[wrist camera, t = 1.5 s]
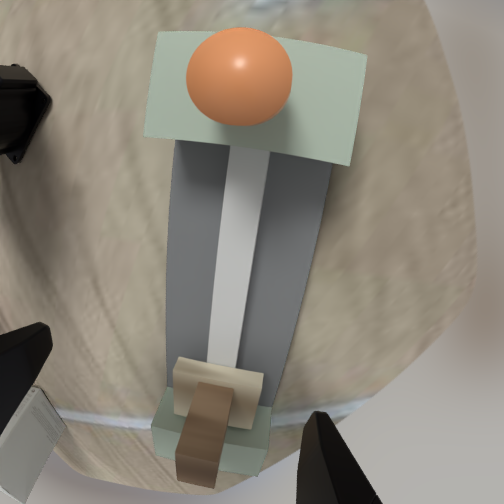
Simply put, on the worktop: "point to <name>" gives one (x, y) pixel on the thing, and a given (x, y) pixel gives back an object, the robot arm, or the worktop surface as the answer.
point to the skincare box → (28, 444)
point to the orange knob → (239, 77)
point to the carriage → (210, 414)
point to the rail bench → (270, 261)
